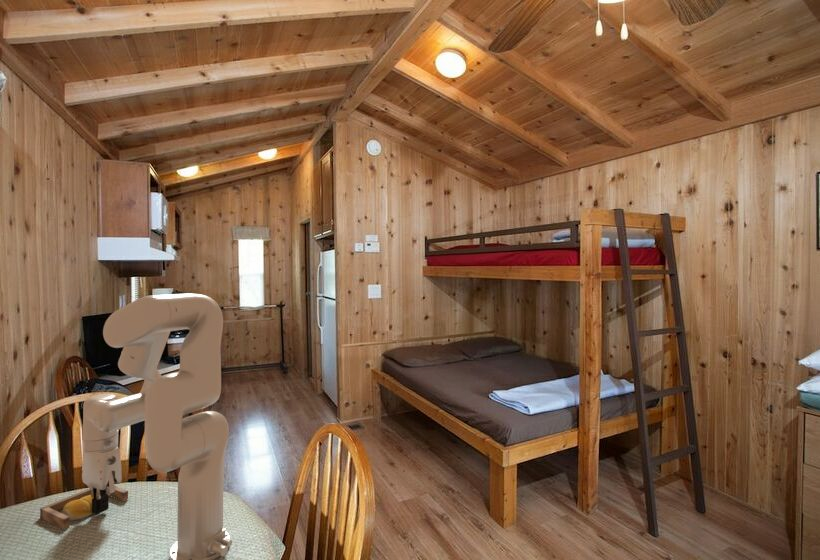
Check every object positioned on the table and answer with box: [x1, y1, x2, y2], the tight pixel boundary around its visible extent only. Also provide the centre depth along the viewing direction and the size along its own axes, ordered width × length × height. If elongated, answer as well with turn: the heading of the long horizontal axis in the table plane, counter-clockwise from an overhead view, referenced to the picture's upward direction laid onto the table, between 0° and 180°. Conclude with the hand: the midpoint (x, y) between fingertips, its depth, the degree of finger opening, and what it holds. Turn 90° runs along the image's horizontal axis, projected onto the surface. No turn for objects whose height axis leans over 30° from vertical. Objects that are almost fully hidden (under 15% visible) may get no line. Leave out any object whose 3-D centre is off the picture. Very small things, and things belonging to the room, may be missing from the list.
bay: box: [39, 485, 129, 530], centre depth 112 cm, size 11×15×2 cm
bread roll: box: [61, 495, 94, 522], centre depth 111 cm, size 8×9×4 cm
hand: (100, 511), depth 110 cm, fingers closed
